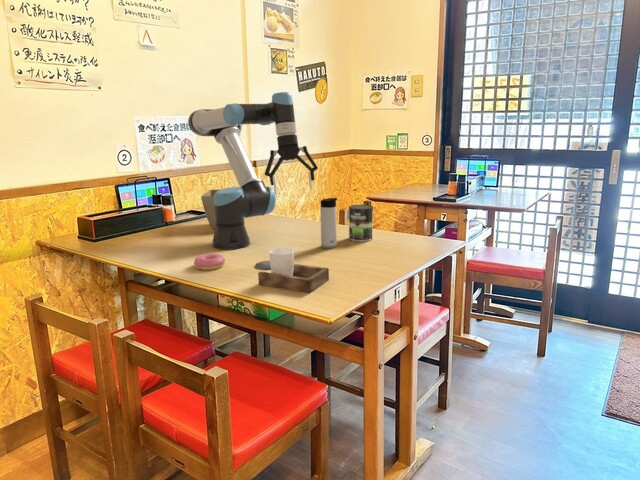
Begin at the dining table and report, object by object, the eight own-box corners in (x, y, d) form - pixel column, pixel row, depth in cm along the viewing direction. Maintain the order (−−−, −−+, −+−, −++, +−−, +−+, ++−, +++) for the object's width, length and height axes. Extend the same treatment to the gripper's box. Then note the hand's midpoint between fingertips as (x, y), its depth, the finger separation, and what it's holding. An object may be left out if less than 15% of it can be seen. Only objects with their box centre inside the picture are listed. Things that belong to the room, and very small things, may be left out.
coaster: (250, 267, 174) (250, 266, 174) (264, 261, 182) (264, 259, 181) (272, 270, 170) (272, 269, 170) (285, 263, 178) (285, 262, 177)
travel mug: (336, 249, 196) (335, 199, 191) (319, 248, 197) (318, 199, 192) (338, 245, 202) (338, 196, 197) (322, 244, 203) (322, 196, 198)
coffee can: (369, 242, 205) (369, 209, 201) (345, 240, 209) (345, 208, 205) (375, 237, 214) (376, 205, 210) (353, 235, 218) (353, 203, 214)
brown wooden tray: (258, 284, 156) (258, 272, 155) (279, 273, 167) (279, 261, 166) (310, 293, 148) (310, 280, 147) (328, 280, 159) (328, 268, 158)
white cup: (270, 277, 163) (269, 248, 161) (294, 276, 164) (293, 247, 161) (270, 285, 156) (269, 255, 153) (295, 284, 156) (294, 254, 154)
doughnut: (194, 273, 170) (193, 261, 169) (193, 264, 180) (192, 253, 179) (226, 269, 173) (226, 258, 171) (223, 261, 183) (223, 250, 182)
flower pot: (243, 230, 230) (241, 195, 226) (203, 231, 230) (200, 195, 226) (249, 222, 248) (247, 188, 244) (212, 222, 249) (209, 189, 245)
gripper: (252, 138, 182) (259, 195, 184) (319, 130, 180) (325, 187, 182) (256, 140, 189) (263, 195, 192) (320, 131, 187) (326, 187, 190)
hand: (293, 191), depth 187 cm, fingers open, 13 cm apart
